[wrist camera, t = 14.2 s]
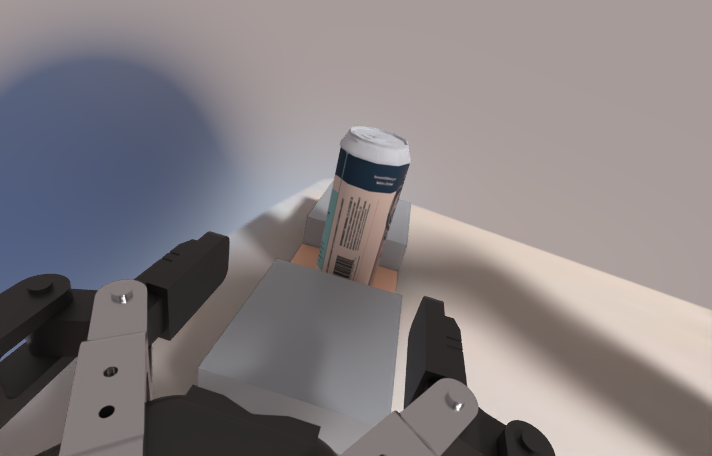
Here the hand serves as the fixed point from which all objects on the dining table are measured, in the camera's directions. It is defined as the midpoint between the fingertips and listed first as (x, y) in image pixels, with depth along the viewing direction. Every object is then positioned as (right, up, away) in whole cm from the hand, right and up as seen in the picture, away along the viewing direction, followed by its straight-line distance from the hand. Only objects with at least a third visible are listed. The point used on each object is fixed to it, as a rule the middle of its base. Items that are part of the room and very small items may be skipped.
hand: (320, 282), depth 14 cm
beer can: (0, -2, +14) cm, 15 cm away
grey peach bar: (0, -3, +15) cm, 15 cm away
